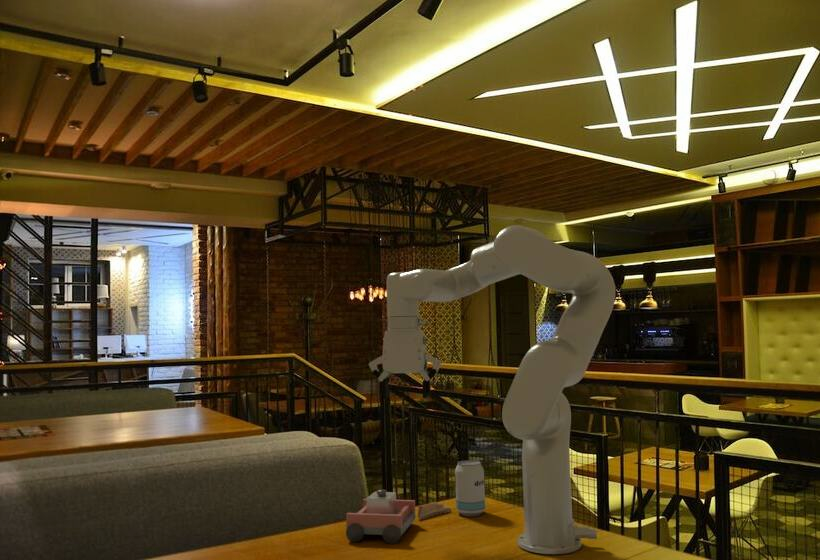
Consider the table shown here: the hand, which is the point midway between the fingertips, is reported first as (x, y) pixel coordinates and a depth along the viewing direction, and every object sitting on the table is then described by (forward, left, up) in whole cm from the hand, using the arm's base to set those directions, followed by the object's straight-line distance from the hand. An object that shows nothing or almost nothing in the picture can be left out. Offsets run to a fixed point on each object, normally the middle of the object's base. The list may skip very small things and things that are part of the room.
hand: (405, 398), depth 155 cm
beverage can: (-13, -9, -28) cm, 33 cm away
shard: (-4, -8, -29) cm, 30 cm away
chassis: (+4, +9, -28) cm, 30 cm away
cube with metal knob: (+4, +9, -25) cm, 27 cm away
